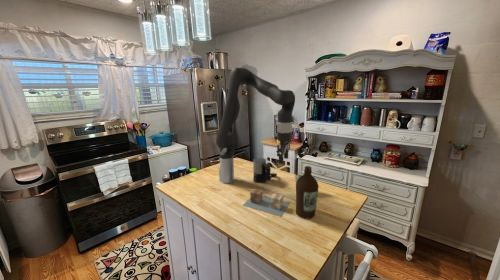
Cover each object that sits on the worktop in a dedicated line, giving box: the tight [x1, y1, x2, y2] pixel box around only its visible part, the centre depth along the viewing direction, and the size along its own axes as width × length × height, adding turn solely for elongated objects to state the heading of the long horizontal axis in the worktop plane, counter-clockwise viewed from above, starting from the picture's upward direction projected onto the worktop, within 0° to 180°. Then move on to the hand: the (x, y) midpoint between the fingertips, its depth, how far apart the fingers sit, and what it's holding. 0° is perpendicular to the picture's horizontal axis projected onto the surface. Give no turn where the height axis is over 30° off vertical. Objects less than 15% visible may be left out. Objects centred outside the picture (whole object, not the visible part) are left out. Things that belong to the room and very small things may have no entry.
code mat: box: [242, 195, 290, 217], centre depth 114 cm, size 22×14×1 cm, turn 62°
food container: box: [294, 173, 316, 183], centre depth 126 cm, size 12×6×10 cm, turn 62°
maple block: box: [270, 193, 284, 210], centre depth 110 cm, size 5×5×6 cm
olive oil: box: [295, 165, 319, 220], centre depth 102 cm, size 11×11×25 cm
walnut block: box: [249, 188, 264, 204], centre depth 116 cm, size 5×5×6 cm
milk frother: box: [252, 157, 278, 184], centre depth 143 cm, size 14×16×15 cm
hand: (283, 160), depth 109 cm, fingers open, 8 cm apart
